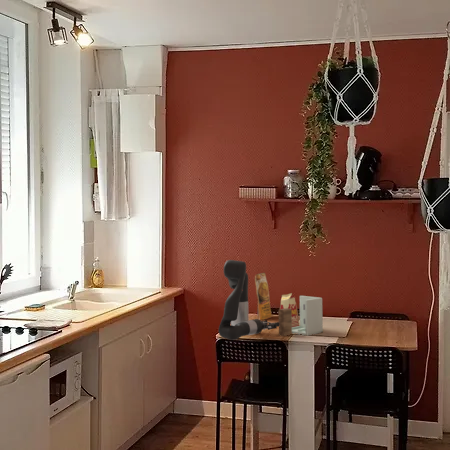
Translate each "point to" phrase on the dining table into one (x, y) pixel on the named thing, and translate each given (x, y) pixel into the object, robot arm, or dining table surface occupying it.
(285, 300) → the red cream food bag
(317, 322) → the cabinet frame
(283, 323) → the brown wooden block
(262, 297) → the pancake mix bag
